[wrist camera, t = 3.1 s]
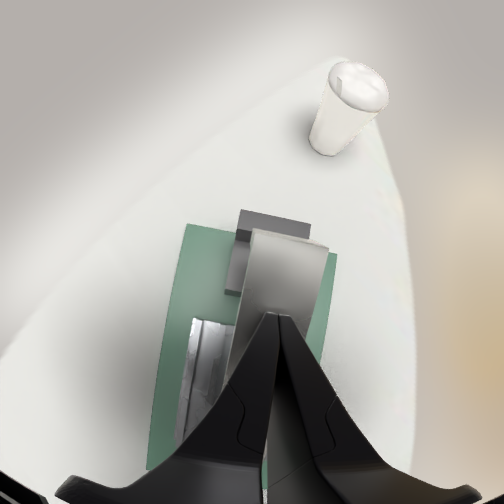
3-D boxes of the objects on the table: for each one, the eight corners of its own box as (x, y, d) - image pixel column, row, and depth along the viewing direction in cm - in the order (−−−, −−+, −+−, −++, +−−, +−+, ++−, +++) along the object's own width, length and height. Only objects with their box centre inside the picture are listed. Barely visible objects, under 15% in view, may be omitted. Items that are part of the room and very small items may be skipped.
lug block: (274, 303, 21) (299, 301, 14) (224, 294, 21) (225, 287, 14) (283, 250, 22) (310, 224, 15) (234, 241, 22) (240, 209, 15)
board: (285, 485, 19) (287, 489, 18) (148, 465, 19) (146, 469, 18) (333, 255, 23) (337, 253, 22) (188, 226, 23) (187, 223, 22)
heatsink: (268, 445, 19) (274, 461, 16) (176, 430, 19) (170, 446, 16) (292, 334, 21) (302, 338, 18) (195, 317, 21) (191, 318, 18)
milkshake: (284, 135, 25) (314, 55, 15) (327, 114, 26) (367, 41, 16) (316, 175, 24) (365, 105, 15) (358, 150, 25) (412, 85, 16)
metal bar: (236, 501, 14) (236, 528, 12) (198, 496, 14) (195, 523, 11) (314, 240, 11) (332, 250, 9) (253, 227, 11) (255, 233, 9)
